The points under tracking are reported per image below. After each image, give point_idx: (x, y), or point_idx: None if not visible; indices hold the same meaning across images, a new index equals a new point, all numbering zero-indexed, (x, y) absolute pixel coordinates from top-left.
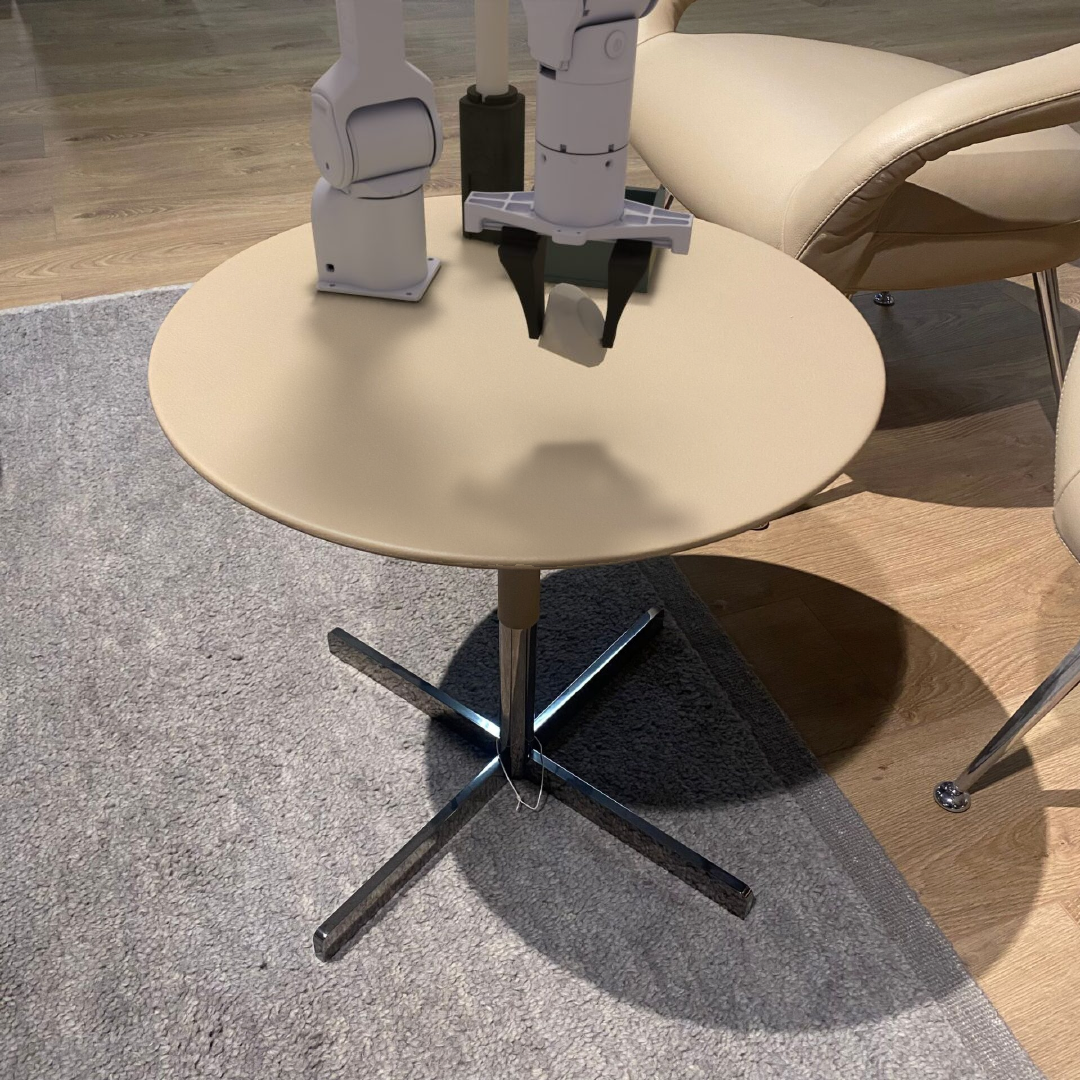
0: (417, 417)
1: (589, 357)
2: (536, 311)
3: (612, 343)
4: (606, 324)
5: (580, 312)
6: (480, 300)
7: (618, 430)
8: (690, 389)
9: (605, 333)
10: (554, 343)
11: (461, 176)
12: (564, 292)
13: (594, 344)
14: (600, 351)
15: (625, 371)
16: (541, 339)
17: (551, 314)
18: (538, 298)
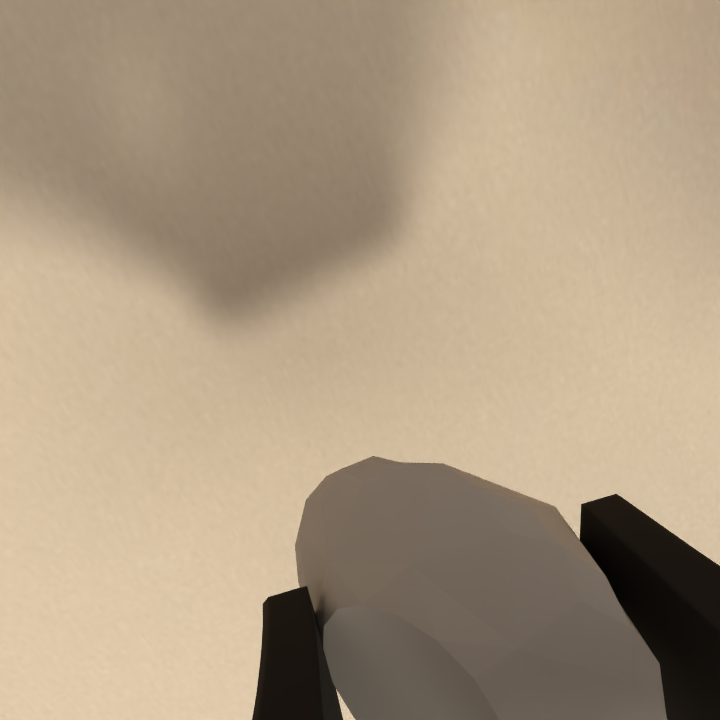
0: None
1: (337, 511)
2: (686, 607)
3: (264, 621)
4: (310, 699)
5: (469, 704)
6: None
7: (203, 397)
8: (106, 625)
9: (304, 651)
10: (515, 498)
11: None
12: None
13: (339, 578)
14: (311, 569)
15: None
16: (564, 521)
17: (616, 620)
18: (705, 683)
